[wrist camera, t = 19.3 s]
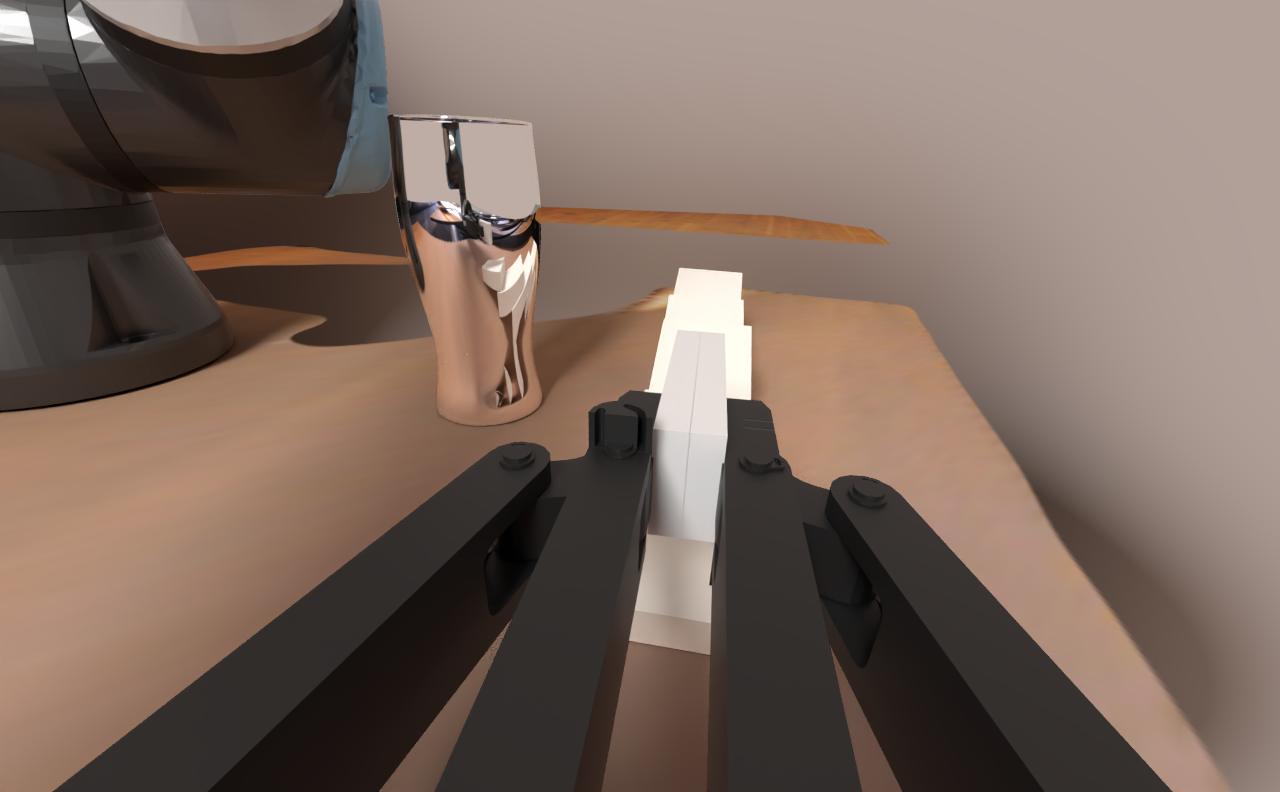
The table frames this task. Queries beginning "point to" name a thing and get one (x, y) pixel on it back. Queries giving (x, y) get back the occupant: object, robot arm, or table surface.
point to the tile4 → (708, 284)
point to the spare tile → (674, 594)
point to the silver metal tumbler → (473, 256)
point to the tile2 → (734, 352)
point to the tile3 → (705, 310)
